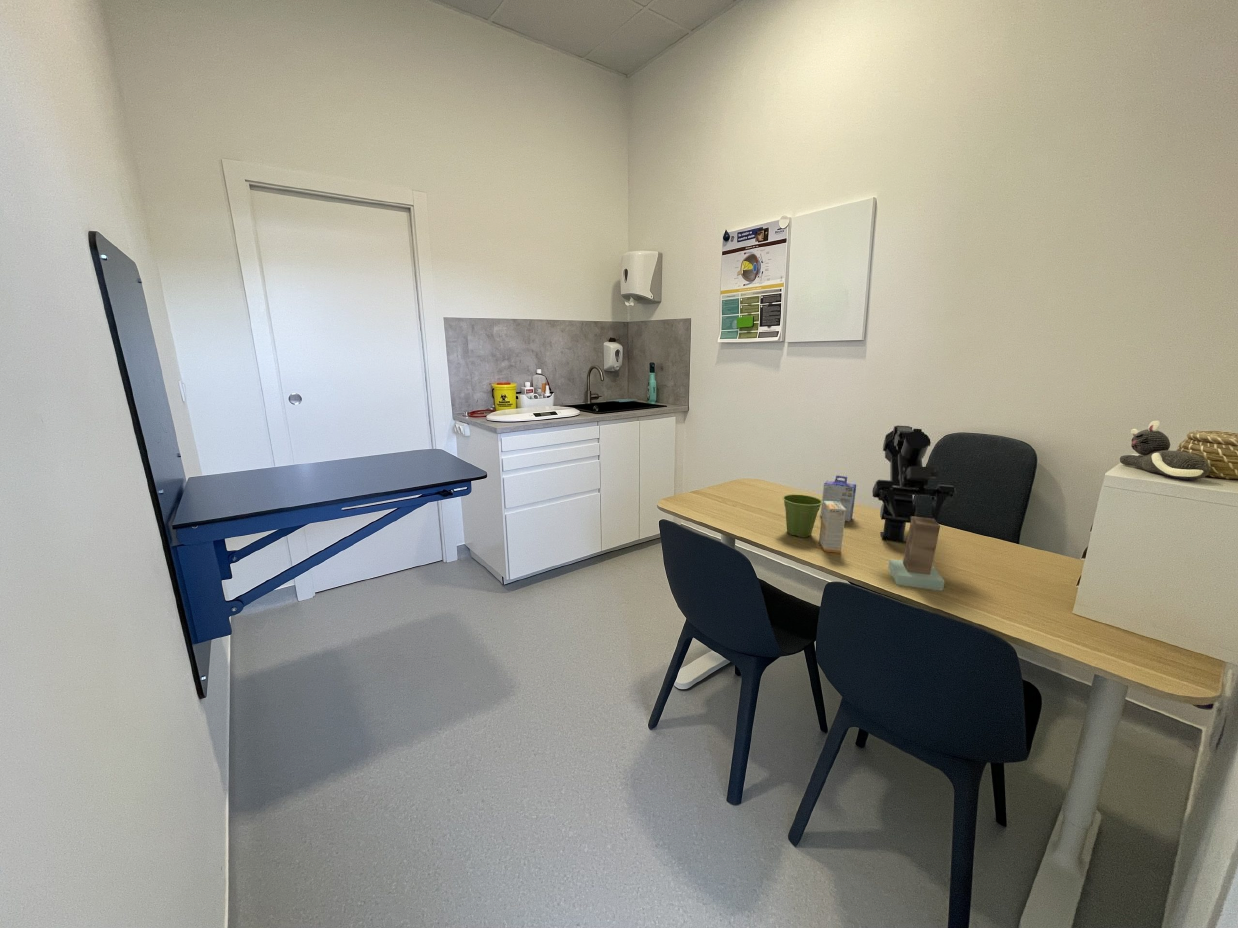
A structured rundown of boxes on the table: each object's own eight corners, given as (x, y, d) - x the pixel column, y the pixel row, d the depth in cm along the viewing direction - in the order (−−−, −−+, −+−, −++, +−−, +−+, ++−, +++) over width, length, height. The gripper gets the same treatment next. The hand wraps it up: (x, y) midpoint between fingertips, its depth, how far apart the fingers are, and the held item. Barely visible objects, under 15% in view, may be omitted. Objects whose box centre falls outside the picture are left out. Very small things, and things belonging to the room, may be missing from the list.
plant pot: (826, 535, 152) (831, 501, 150) (803, 543, 146) (807, 507, 143) (794, 524, 162) (798, 491, 159) (771, 531, 155) (774, 497, 153)
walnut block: (902, 562, 127) (911, 516, 123) (924, 565, 125) (934, 518, 122) (907, 571, 122) (916, 523, 119) (930, 574, 121) (940, 525, 117)
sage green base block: (888, 569, 130) (889, 559, 130) (930, 575, 127) (932, 564, 127) (896, 586, 121) (898, 574, 120) (942, 592, 118) (944, 581, 117)
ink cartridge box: (852, 517, 169) (858, 477, 166) (850, 522, 165) (856, 481, 161) (822, 512, 174) (827, 473, 171) (819, 516, 170) (824, 476, 166)
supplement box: (841, 553, 139) (847, 509, 136) (823, 551, 140) (828, 508, 137) (835, 542, 147) (840, 501, 144) (818, 541, 148) (823, 499, 145)
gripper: (880, 450, 131) (883, 501, 123) (960, 456, 126) (968, 509, 118) (871, 472, 140) (873, 520, 132) (945, 477, 135) (952, 529, 127)
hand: (915, 519), depth 127 cm, fingers open, 9 cm apart
